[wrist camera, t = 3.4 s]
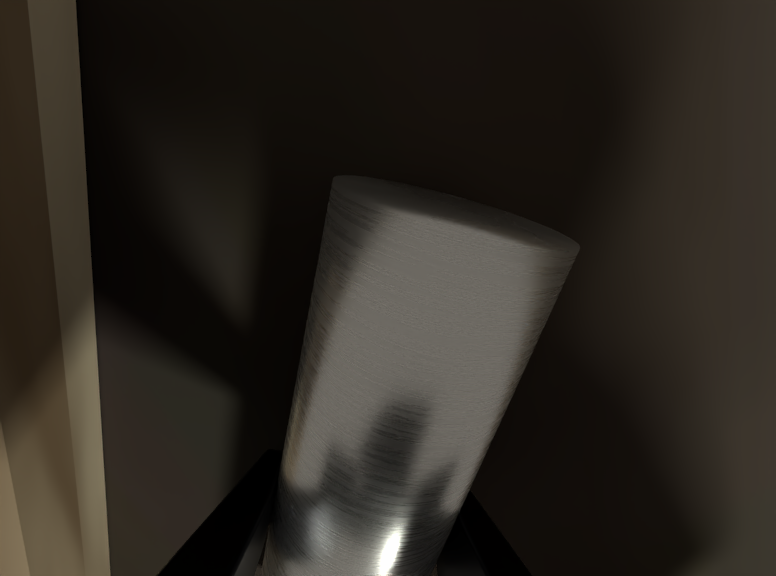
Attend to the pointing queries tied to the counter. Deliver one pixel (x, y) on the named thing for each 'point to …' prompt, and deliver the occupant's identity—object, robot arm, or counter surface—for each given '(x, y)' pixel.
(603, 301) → the counter surface
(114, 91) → the counter surface
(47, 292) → the cradle
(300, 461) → the axle
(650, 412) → the counter surface
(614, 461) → the counter surface
